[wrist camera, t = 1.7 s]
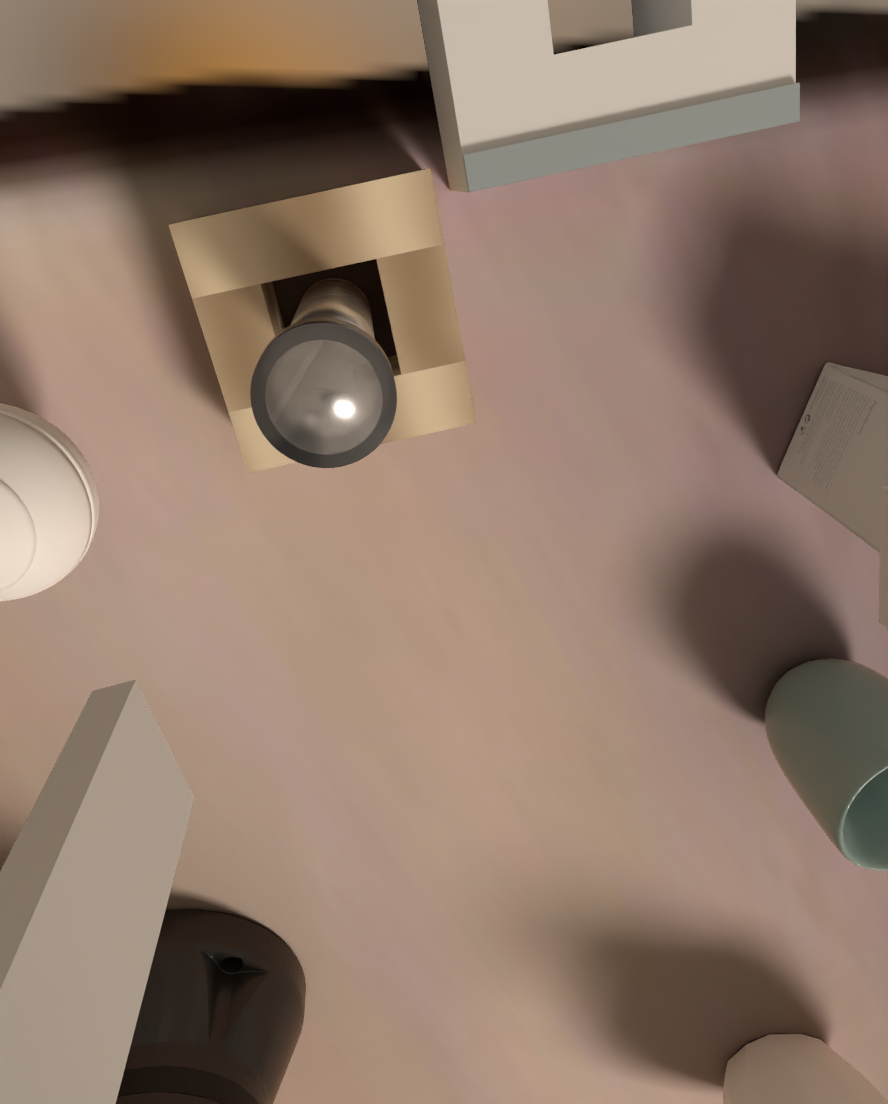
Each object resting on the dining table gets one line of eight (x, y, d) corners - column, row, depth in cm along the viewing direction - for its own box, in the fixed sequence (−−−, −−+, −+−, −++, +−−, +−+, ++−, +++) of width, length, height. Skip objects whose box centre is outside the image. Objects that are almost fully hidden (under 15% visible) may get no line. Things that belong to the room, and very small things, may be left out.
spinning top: (158, 512, 38) (81, 642, 28) (-4, 531, 38) (-147, 671, 27) (116, 353, 35) (11, 430, 24) (-62, 371, 35) (-250, 459, 24)
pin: (303, 369, 36) (273, 481, 23) (278, 278, 34) (230, 341, 21) (388, 350, 36) (410, 451, 23) (368, 259, 34) (379, 309, 21)
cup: (757, 640, 45) (858, 754, 36) (885, 634, 46) (1014, 745, 37) (734, 749, 49) (821, 879, 40) (854, 742, 49) (966, 867, 40)
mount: (258, 444, 37) (247, 473, 34) (188, 220, 33) (168, 224, 29) (464, 399, 38) (476, 422, 34) (422, 169, 33) (430, 168, 30)
